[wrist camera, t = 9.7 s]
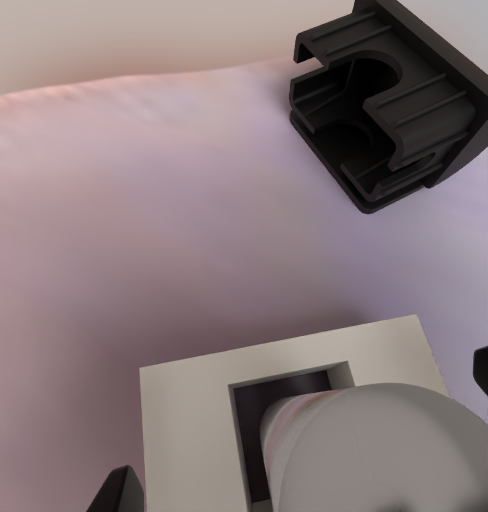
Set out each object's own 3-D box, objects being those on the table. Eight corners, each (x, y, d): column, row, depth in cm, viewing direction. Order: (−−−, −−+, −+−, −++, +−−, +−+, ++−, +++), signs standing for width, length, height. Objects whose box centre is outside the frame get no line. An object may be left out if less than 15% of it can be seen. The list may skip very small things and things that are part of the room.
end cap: (462, 176, 21) (552, 80, 14) (369, 224, 19) (423, 141, 13) (366, 79, 24) (404, -31, 18) (282, 114, 23) (293, 9, 17)
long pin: (324, 476, 14) (601, 758, 3) (256, 466, 15) (268, 696, 3) (325, 401, 16) (525, 398, 4) (262, 393, 16) (287, 369, 4)
